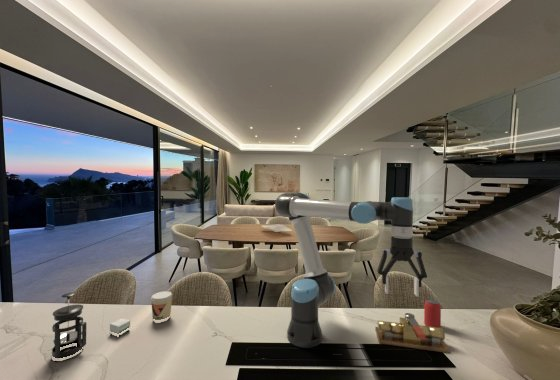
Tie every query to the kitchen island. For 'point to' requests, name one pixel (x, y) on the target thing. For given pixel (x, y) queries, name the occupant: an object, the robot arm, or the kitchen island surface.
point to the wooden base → (410, 336)
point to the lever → (415, 326)
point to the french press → (68, 329)
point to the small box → (119, 325)
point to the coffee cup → (161, 305)
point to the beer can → (432, 313)
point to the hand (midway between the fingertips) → (401, 293)
